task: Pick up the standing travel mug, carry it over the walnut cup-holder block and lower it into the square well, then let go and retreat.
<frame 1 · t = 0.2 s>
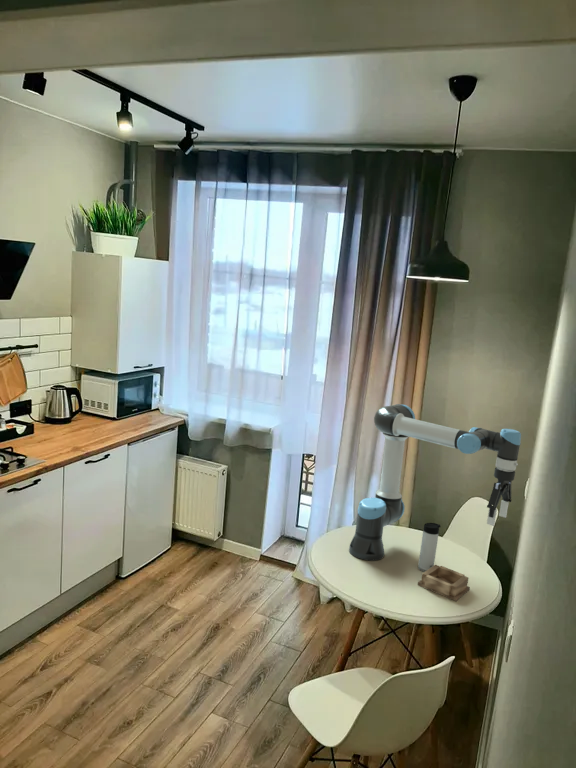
hand: (496, 520, 225), 28 cm above the table, fingers open, 13 cm apart
holder: (443, 587, 225), on the table
travel mug: (425, 569, 239), on the table
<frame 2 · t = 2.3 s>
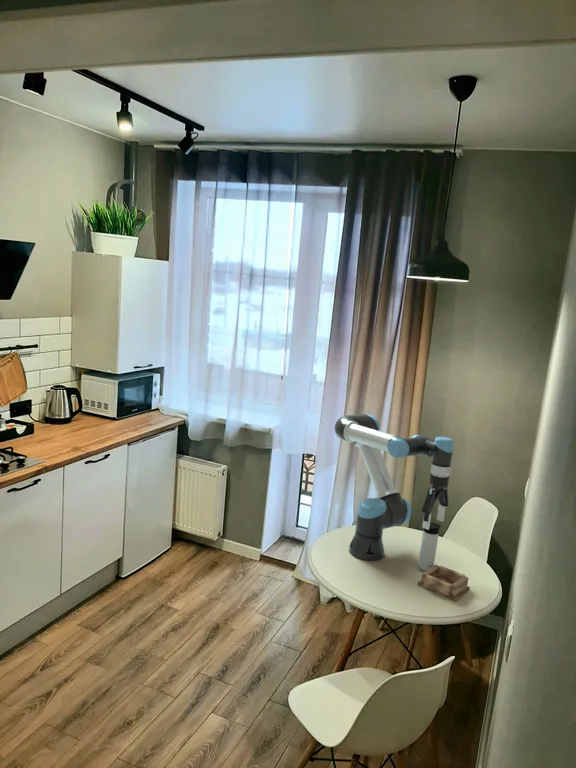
hand: (432, 524, 236), 20 cm above the table, fingers open, 13 cm apart
nothing on the table moved.
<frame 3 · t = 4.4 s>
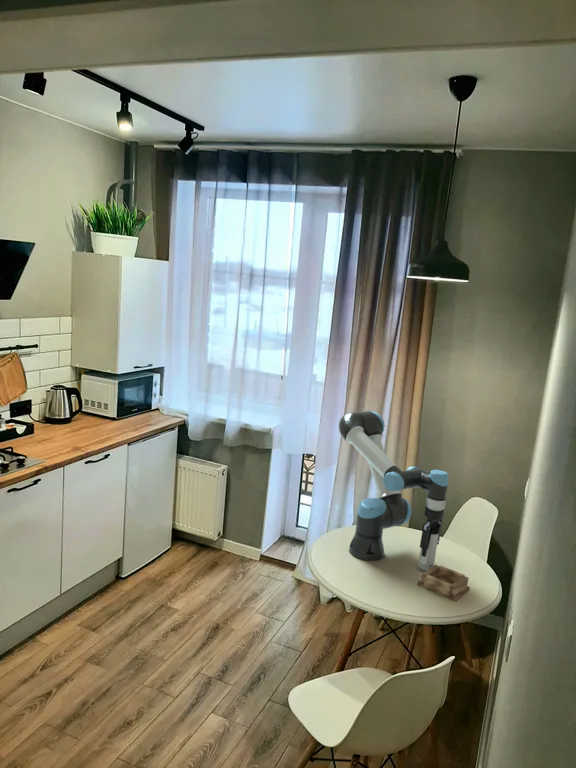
hand: (427, 560, 238), 4 cm above the table, fingers closed on travel mug, 6 cm apart
travel mug: (425, 569, 239), on the table, touching gripper
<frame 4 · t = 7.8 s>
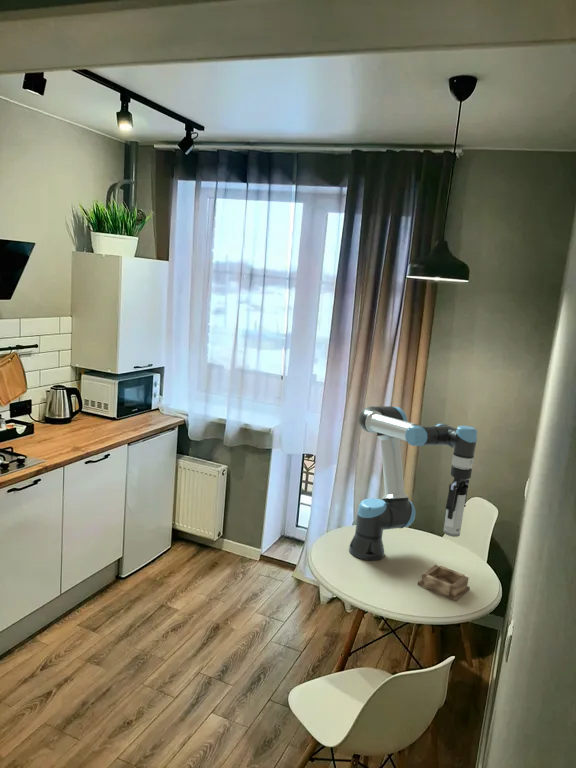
hand: (453, 524, 221), 26 cm above the table, fingers closed on travel mug, 6 cm apart
travel mug: (451, 534, 221), point 22 cm above the table, touching gripper
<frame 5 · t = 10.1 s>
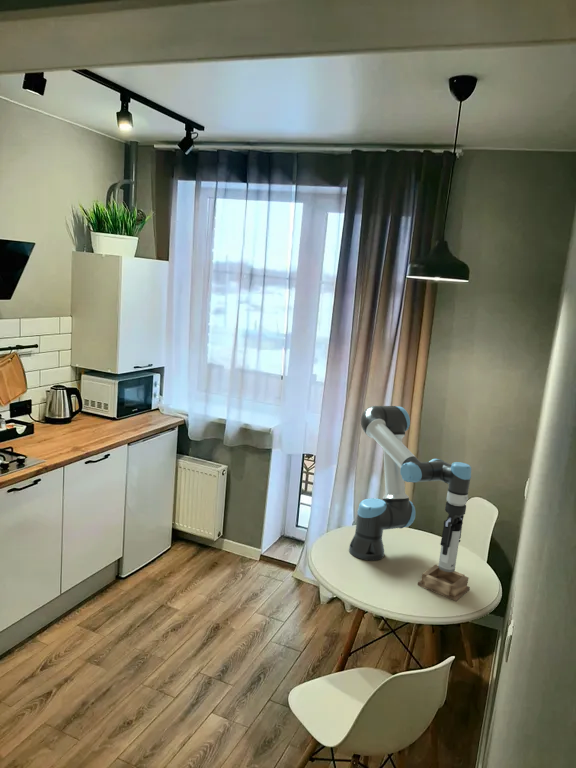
hand: (448, 559, 223), 12 cm above the table, fingers closed on travel mug, 6 cm apart
travel mug: (446, 569, 223), point 8 cm above the table, touching gripper
when the fingers open (7 cm above the table, at t = 11.5 s): travel mug drops 2 cm, resting on holder.
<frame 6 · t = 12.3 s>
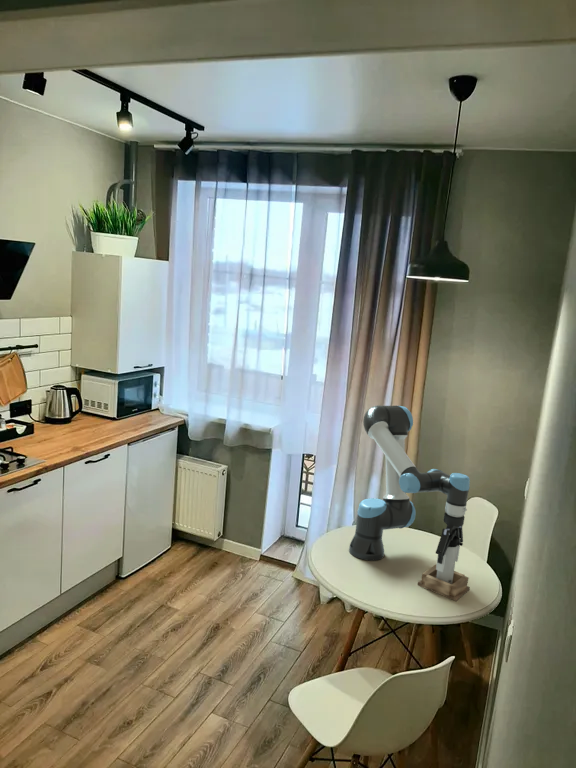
hand: (446, 565, 223), 9 cm above the table, fingers open, 13 cm apart
travel mug: (444, 584, 224), point 1 cm above the table, touching holder
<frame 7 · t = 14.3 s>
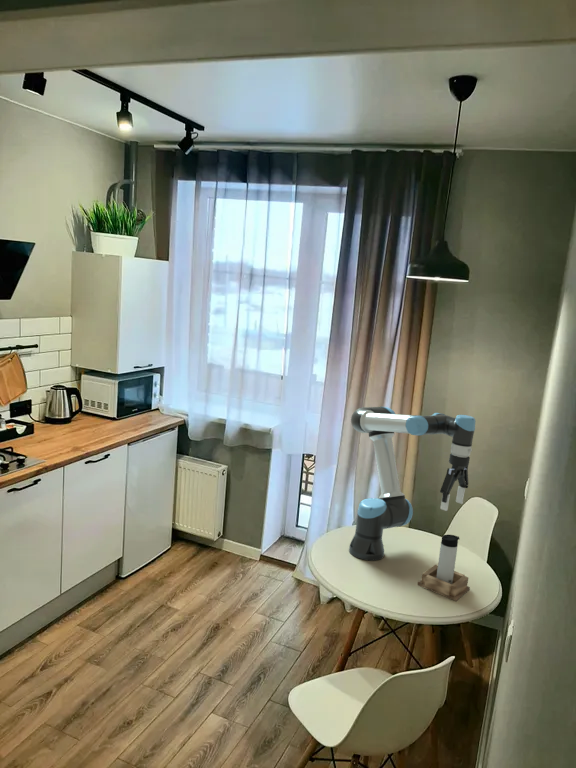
hand: (451, 506, 227), 31 cm above the table, fingers open, 13 cm apart
nothing on the table moved.
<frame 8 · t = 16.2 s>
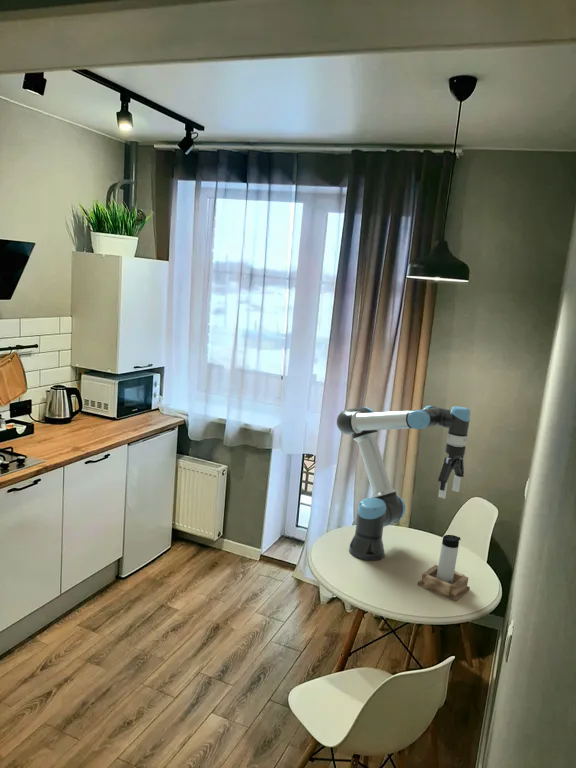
hand: (448, 494, 236), 33 cm above the table, fingers open, 13 cm apart
nothing on the table moved.
at the end: travel mug inside the target area on the holder (0.1 cm from its centre), point 1.0 cm above the holder's base; travel mug tilted 1°; the gripper is holding nothing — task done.
